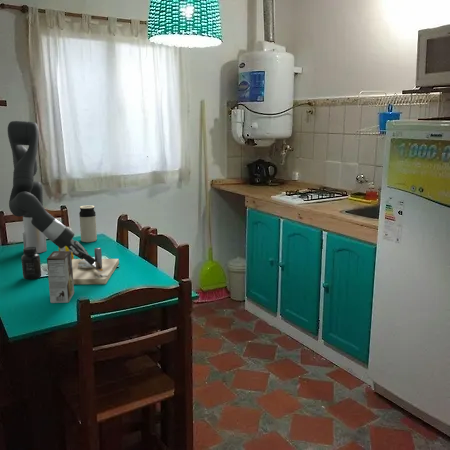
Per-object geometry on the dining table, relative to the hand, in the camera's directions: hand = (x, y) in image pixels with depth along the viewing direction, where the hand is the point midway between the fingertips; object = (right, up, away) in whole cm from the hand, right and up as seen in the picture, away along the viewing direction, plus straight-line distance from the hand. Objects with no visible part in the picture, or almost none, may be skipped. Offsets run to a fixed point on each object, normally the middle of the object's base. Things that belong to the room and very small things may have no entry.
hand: (93, 262), depth 184 cm
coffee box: (-6, -11, -17) cm, 21 cm away
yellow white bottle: (-20, -2, +28) cm, 34 cm away
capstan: (-2, -3, +8) cm, 9 cm away
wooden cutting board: (-5, -5, +11) cm, 13 cm away
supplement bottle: (-26, -6, +5) cm, 27 cm away
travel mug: (-20, +6, +63) cm, 66 cm away
